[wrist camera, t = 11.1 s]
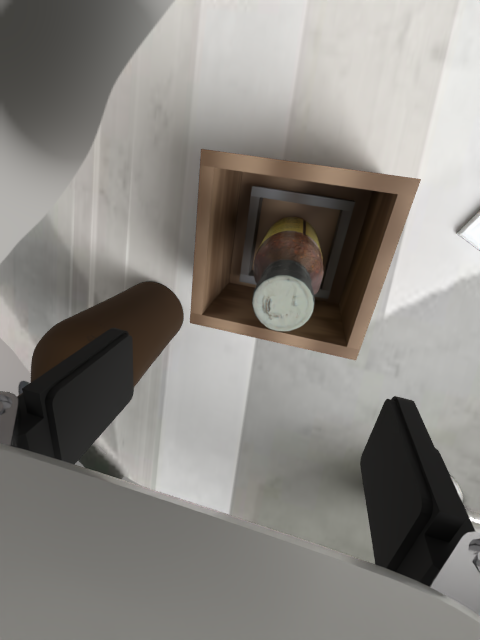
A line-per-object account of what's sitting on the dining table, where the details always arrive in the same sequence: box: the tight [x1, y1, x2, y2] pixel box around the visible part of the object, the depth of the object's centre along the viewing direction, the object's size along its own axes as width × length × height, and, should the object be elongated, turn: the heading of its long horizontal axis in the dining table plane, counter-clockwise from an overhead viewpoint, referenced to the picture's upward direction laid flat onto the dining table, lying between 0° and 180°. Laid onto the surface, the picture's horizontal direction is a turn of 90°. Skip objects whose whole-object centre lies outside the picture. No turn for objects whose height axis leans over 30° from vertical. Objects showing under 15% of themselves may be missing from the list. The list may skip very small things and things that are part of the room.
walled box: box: [190, 149, 421, 360], centre depth 32 cm, size 17×16×12 cm
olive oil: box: [18, 282, 183, 397], centre depth 35 cm, size 11×11×25 cm
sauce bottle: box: [252, 217, 324, 331], centre depth 28 cm, size 6×6×20 cm
